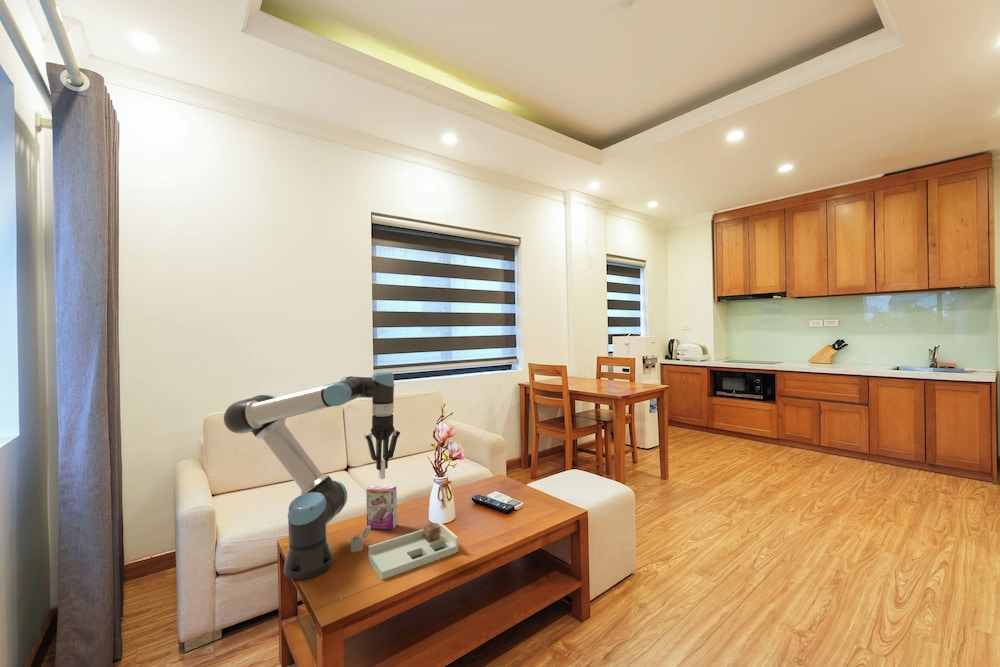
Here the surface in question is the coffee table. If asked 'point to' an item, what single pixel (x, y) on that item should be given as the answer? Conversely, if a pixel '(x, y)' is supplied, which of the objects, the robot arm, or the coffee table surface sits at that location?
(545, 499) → the coffee table surface
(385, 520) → the candy bar box
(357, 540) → the lighter
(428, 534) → the block
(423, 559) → the board
